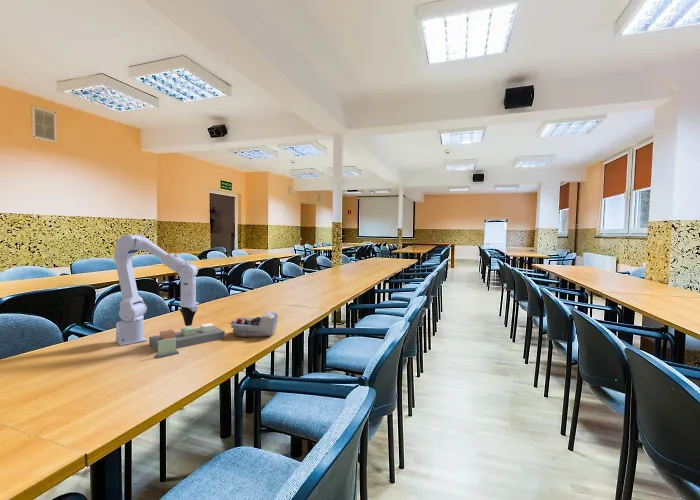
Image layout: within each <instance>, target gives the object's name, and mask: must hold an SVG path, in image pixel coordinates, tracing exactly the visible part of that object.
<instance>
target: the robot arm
mask: <svg viewBox="0 0 700 500" xmlns="http://www.w3.org/2000/svg"><path fill="white" fill-rule="evenodd" d="M115 244H116V247H115V251H114V254H113V257H114V262H115V267H116V272H117V276H118V281H119V286H120V291H121V296H122V299H121V301H120V303H119V311H118V316H119V318H120V319H121V320H120V321H117V322H116V323H115V339H116V340H115V342H116V343H117V345H119V346H124V345H125V346H126V345H131V344H137V343H141V342H147V341H148V339H147V338H146V337H144V335H145V334H144V329H145V328H144V327H145V326H144V316H145V314H146V312H147V311H148V307H147V305H146V303H145V302H144V299H143V297H142V296H140V295H139V292H138V287H137V282H136V277H135V272H134V268H133V263H132V258H133V256H134V255H135V254H136V253H138V252H139V251H146V252H147V253H149V254H152V255H153V256H155V257H156V258H158V259H160V260H162V263H163V265H164V266H166V267H167V268H168V269H170V270H171V271H174V272H175V273H177V275H178V277H179V278H180V301H179V306H180V307H181V308H180V309H179V312H180V314H181V315H182V318H183V323H184V325H185V327H190V326H192V325H193V320H194V317H195V314H196V313H197V312H198V309H199V307H198V305H199V304H200V303H199V302H198V301H197V275H198V272H199V269H198V266H196V265H195V263H189V261H188V260H184V259H183V258H181V257H180V255H179V254H178V253H173V252H171V253H168V252H167V251H165V250H164V249H162V247H159V246H158V245H157V244H156V243H154V242H153V241H151V240H150V239H149V238H147V237H145V236H144V235H142V234H123V235H121V236H119V238H118V239H117V240H116V241H115Z"/></svg>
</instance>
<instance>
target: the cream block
mask: <svg viewBox="0 0 700 500" xmlns="http://www.w3.org/2000/svg"><path fill="white" fill-rule="evenodd" d="M215 327H216V326H215V324H213V323H211V322H209V323H203V324H200V325H199V328H200V331H201V332H203V333H207V332H212V331H215Z"/></svg>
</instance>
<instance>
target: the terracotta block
mask: <svg viewBox="0 0 700 500" xmlns="http://www.w3.org/2000/svg"><path fill="white" fill-rule="evenodd" d="M175 332H176V331H175V330H173V329H169V330H162V331H159V335H160V338H161V339H162V340H166V339H171V338H175Z"/></svg>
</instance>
